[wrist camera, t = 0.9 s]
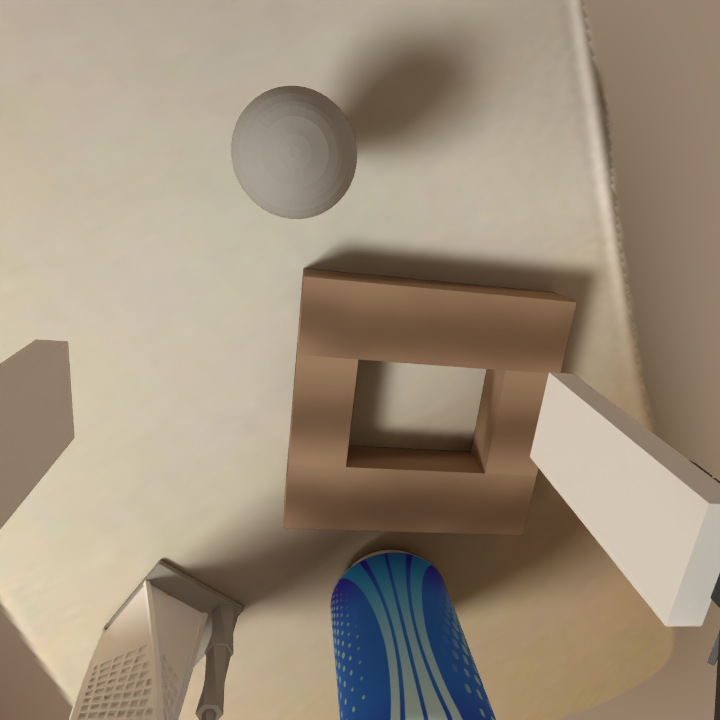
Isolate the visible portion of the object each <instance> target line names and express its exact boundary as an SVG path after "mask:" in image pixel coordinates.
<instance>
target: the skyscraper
mask: <svg viewBox="0 0 720 720" xmlns="http://www.w3.org/2000/svg"><path fill="white" fill-rule="evenodd" d="M243 607H244V606H242V605H240V604H239V603H237V602H235V601H233V600H231V599H230V598H228V597H226V596H224V595H223V594H221V593H219V592H217V591H215V590H214V589H212V588H210V587H208V586H206V585H205V584H203V583H201V582H199V581H197V580H196V579H194V578H192V577H190V576H189V575H187V574H185V573H183V572H181V571H180V570H178V569H176V568H174V567H172V566H171V565H169V564H167V563H165V562H163V561H162V560H160V561H159V562H158V563H157V564H156V565H155V567H154V568H153V569H152V570H151V571H150V573H149V574H148V575H147V576H146V577H145V579H144V580H143V581H142V582H141V583H140V585H139V586H138V587H137V588H136V589H135V591H134V592H133V593H132V594H131V595H130V597H129V598H128V599H127V600H126V601H125V603H124V604H123V605H122V606H121V607H120V609H119V610H118V611H117V612H116V613H115V615H114V616H113V617H112V618H111V619H110V621H109V622H108V623H107V624H106V625H105V627H104V628H103V630H102V632H101V635H100V637H99V640H98V642H97V644H96V647H95V649H94V652H93V654H92V657H91V659H90V662H89V664H88V667H87V669H86V672H85V674H84V677H83V680H82V683H81V685H80V688H79V691H78V694H77V697H76V700H75V703H74V706H73V709H72V712H71V715H70V718H69V720H178V719H179V715H180V712H181V709H182V705H183V702H184V698H185V695H186V692H187V688H188V685H189V681H190V678H191V674H192V671H193V667H194V665H195V664H196V663H197V662H198V661H199V660H200V659H201V657H202V656H203V655H204V654H205V655H206V671H205V681H204V687H203V691H202V694H201V697H200V700H199V704H198V707H197V710H196V713H195V714H196V715H197V717H198V718H199V720H218V719H219V718H220V717H221V716H222V715H223V704H224V682H225V678H226V674H227V669H228V665H229V661H230V657H231V656H232V655H233V632H234V628H235V624H236V621H237V617H238V616H239V615H240V614H241V612H242V611H243Z"/></svg>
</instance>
